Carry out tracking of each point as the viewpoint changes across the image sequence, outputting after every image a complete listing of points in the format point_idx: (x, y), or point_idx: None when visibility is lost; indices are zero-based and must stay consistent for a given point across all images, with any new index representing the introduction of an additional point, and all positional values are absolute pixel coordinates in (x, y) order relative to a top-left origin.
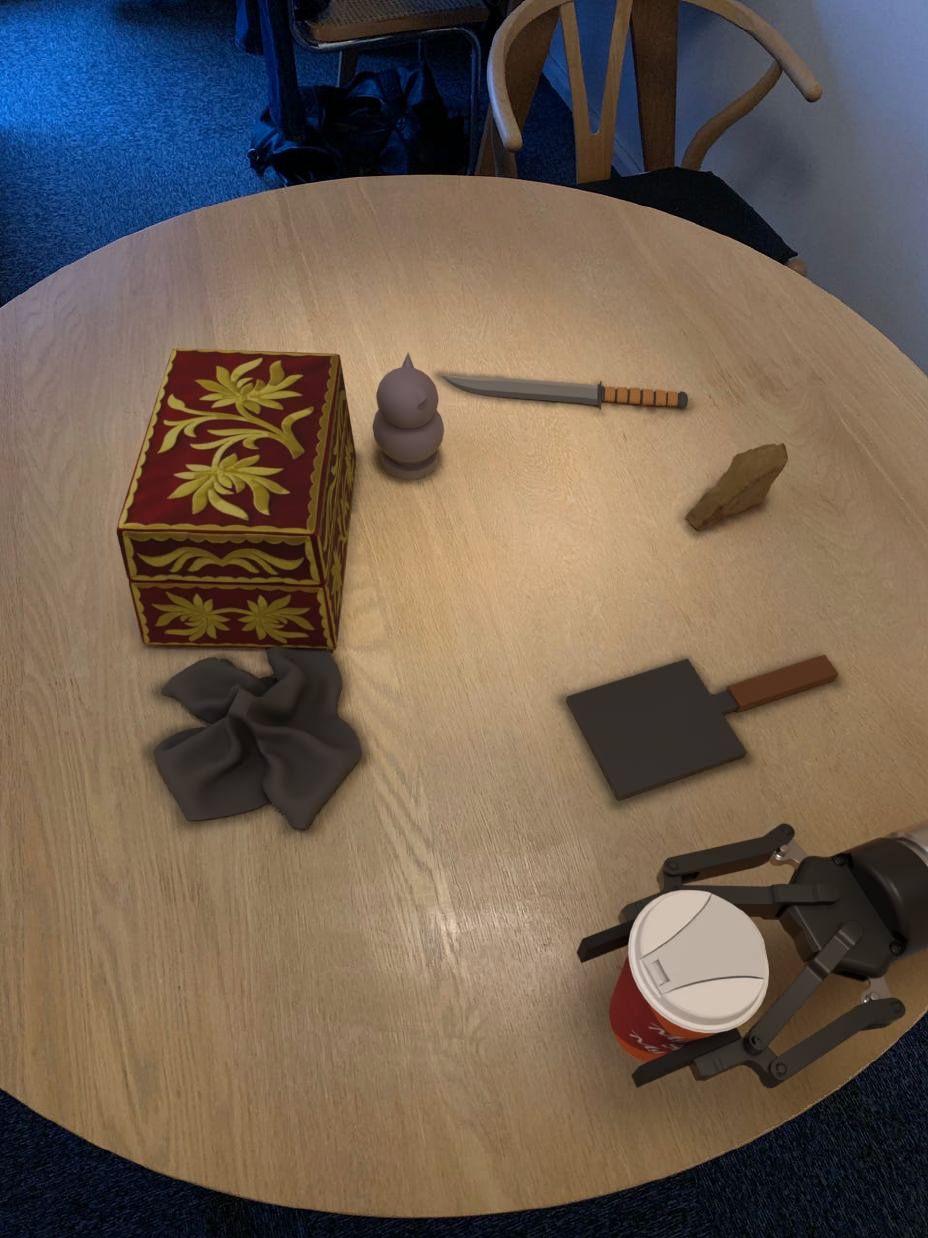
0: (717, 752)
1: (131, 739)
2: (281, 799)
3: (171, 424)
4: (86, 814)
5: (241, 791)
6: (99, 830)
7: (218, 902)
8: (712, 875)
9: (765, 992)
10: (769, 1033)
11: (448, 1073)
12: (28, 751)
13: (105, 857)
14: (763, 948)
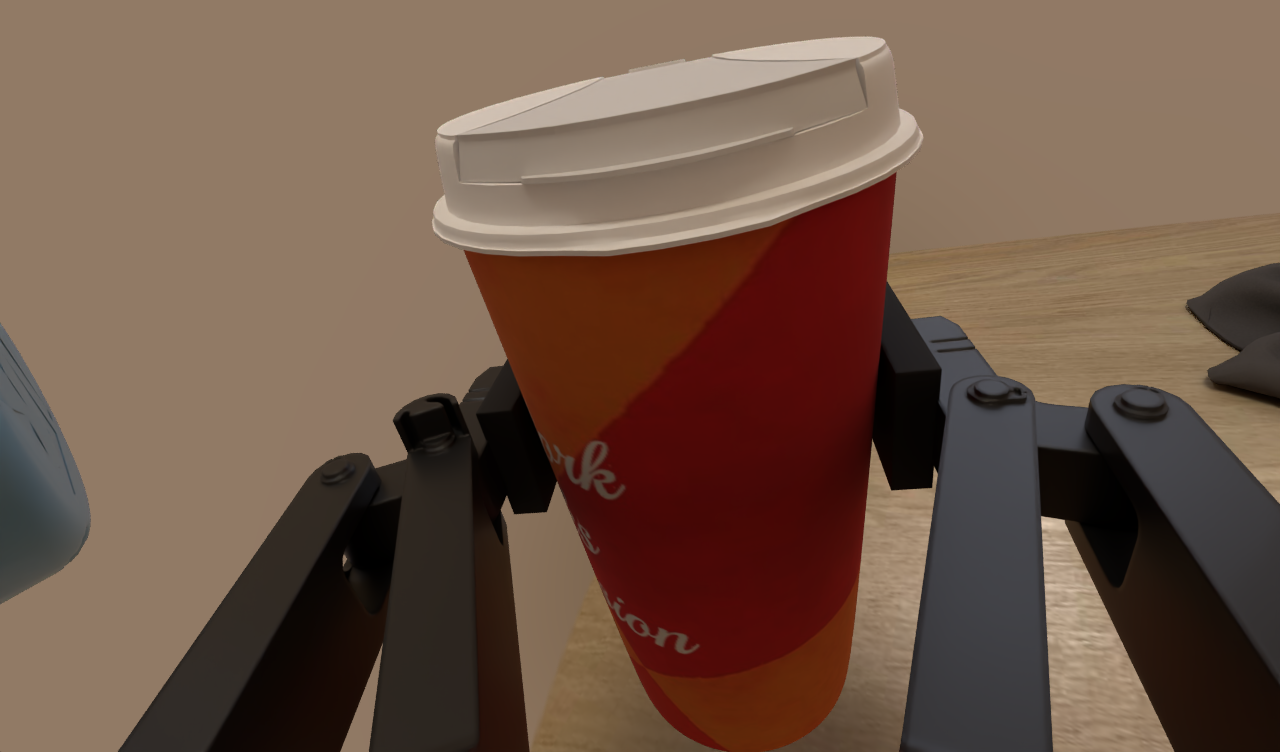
0: None
1: None
2: (1260, 342)
3: None
4: (1169, 254)
5: (1264, 333)
6: (1147, 262)
7: (1058, 326)
8: (1162, 686)
9: (448, 242)
10: (424, 482)
11: None
12: (1251, 223)
13: (1109, 267)
14: (556, 177)
